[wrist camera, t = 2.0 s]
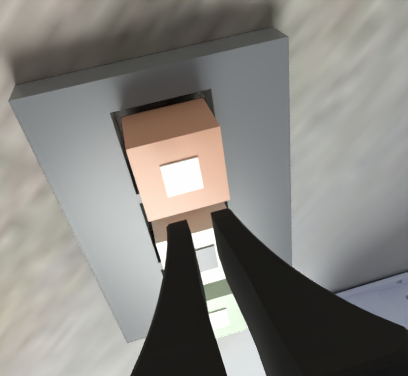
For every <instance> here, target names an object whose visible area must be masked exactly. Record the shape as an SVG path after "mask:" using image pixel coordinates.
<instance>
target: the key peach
mask: <svg viewBox="0 0 408 376" xmlns="http://www.w3.org/2000/svg"><path fill="white" fill-rule="evenodd" d="M121 120H122V127H123V134H124V141H125V148H126V152H127V155H128V159H129V162H130V165H131V168H132V171H133V174H134V177H135V181H136V184H137V187H138V190H139V193H140V196H141V199H142V203H143V206H144V209H145V212H146V215H147V218H148V221H149V222H150V221H154V220H157V219H161V218H165V217H169V216H172V215H176V214H180V213H183V212H187V211H191V210H194V209H198V208H202V207H206V206H209V205H213V204H217V203H220V202H224V201H228V200H230V195H229V187H228V180H227V173H226V166H225V158H224V151H223V144H222V137H221V129H220V125H219V124H218V122H217V120H216V119H215V117H214V115H213V114H212V112H211V110H210V109H209V107H208V105H207V104H206V102H205V100H204V99H203V97H202V98H198V99H194V100H190V101H186V102H182V103H178V104H173V105H169V106H165V107H161V108H157V109H153V110H149V111H144V112H140V113H136V114H132V115H128V116H124V117H121Z"/></svg>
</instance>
